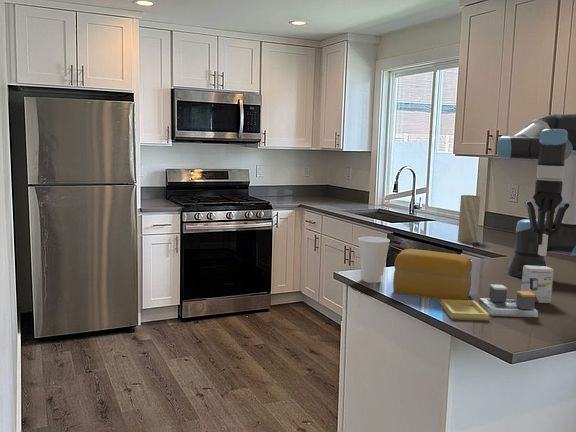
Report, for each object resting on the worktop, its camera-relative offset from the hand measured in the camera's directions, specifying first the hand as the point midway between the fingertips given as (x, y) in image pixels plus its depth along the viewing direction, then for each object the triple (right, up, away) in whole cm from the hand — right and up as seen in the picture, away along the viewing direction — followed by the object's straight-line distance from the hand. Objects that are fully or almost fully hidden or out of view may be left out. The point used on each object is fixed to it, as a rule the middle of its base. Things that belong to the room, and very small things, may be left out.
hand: (541, 255), depth 168 cm
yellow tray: (-25, -18, 0) cm, 31 cm away
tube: (+19, -2, +126) cm, 128 cm away
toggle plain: (-12, -15, +6) cm, 20 cm away
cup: (-48, -13, +36) cm, 61 cm away
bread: (-29, -15, +21) cm, 39 cm away
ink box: (+5, -17, +15) cm, 23 cm away
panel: (-10, -18, +3) cm, 21 cm away
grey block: (-6, -16, -1) cm, 17 cm away
